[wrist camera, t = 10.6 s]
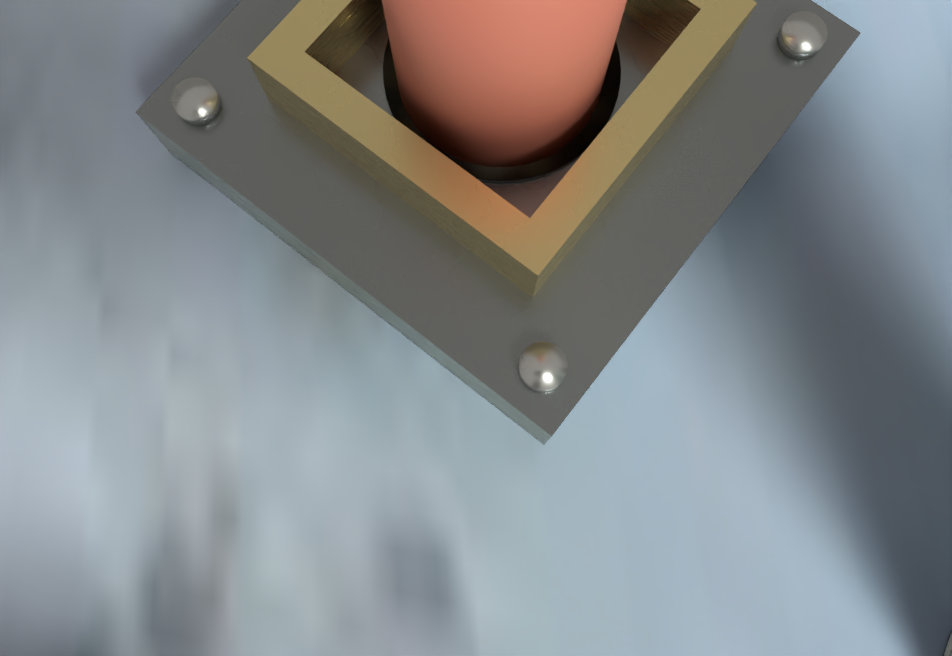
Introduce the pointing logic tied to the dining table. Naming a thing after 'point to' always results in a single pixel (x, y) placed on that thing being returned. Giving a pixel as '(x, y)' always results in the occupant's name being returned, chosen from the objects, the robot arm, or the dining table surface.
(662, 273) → the square socket fixture
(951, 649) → the spray can
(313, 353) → the dining table surface
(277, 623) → the dining table surface
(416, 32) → the sippy cup
